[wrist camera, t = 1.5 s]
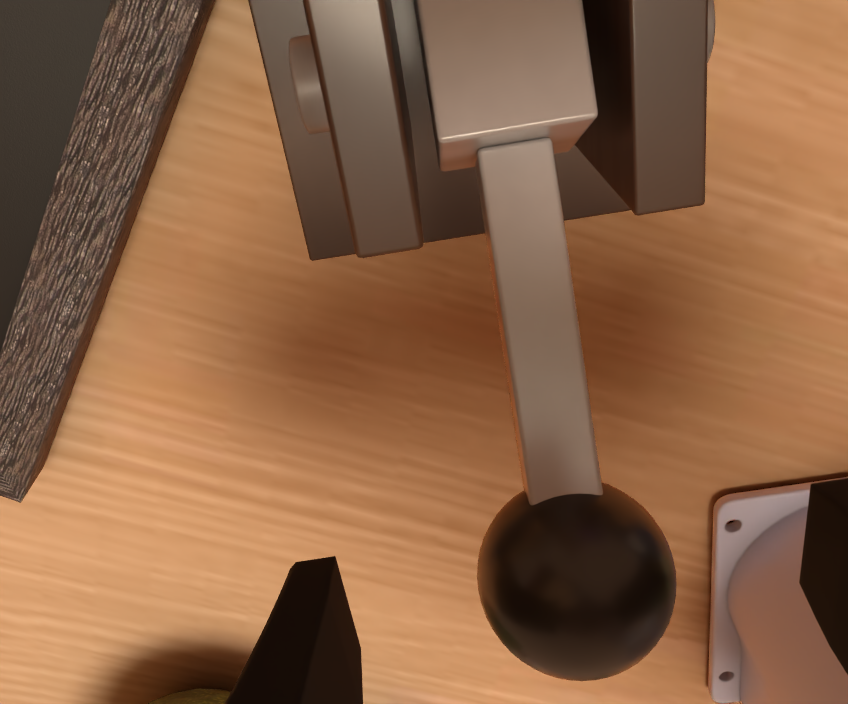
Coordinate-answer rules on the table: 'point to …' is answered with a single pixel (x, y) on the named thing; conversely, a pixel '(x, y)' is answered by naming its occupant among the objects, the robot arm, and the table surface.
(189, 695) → the fruit
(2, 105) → the picture frame
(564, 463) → the rod arm
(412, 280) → the table surface
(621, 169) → the rod stand
